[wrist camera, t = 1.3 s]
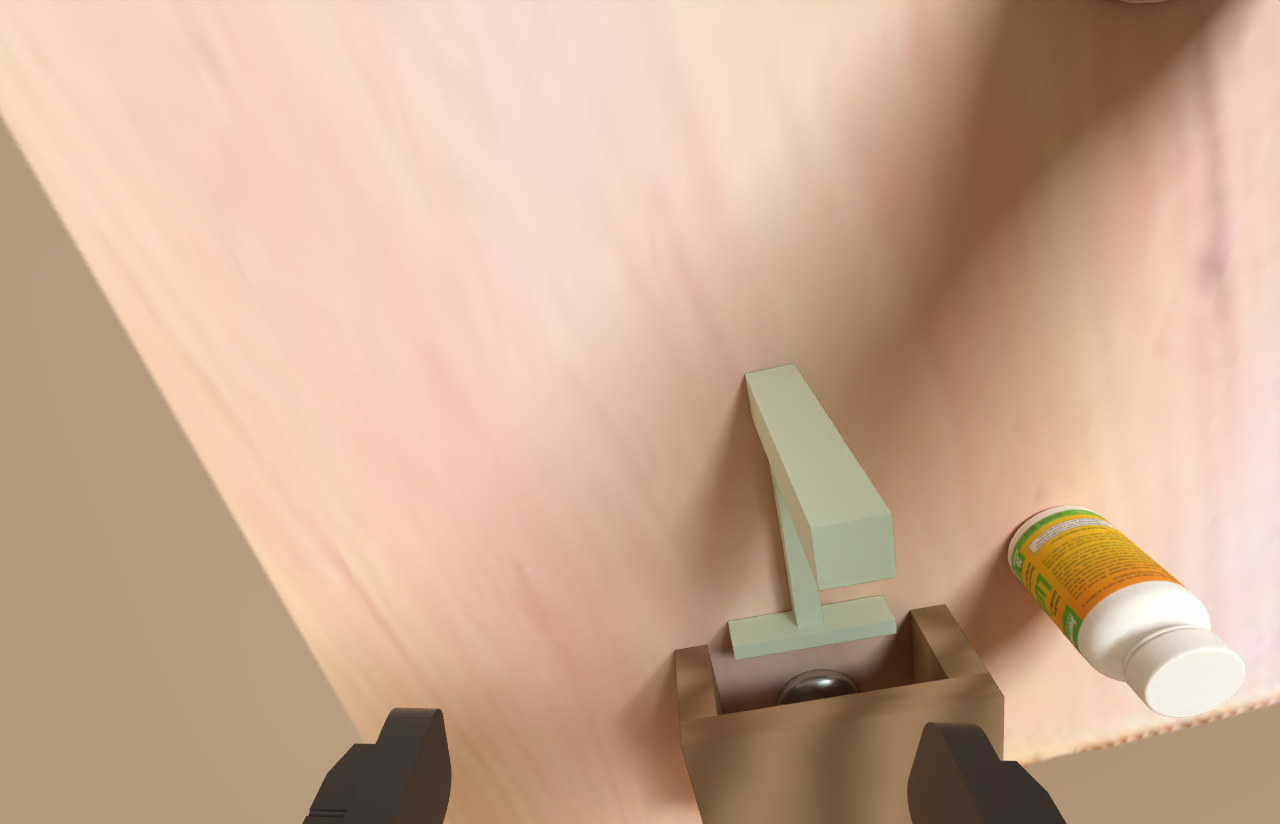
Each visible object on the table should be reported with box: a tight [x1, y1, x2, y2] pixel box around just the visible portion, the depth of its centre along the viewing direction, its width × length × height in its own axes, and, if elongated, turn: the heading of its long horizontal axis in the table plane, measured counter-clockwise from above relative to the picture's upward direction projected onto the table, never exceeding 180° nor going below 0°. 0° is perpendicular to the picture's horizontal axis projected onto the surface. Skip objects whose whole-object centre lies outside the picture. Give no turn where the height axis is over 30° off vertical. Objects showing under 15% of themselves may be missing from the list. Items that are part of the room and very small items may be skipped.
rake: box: [728, 364, 896, 660], centre depth 28 cm, size 9×16×13 cm, turn 13°
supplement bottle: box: [1008, 506, 1245, 718], centre depth 31 cm, size 5×5×10 cm
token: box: [778, 669, 858, 706], centre depth 40 cm, size 5×5×1 cm
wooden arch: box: [675, 605, 1004, 824], centre depth 36 cm, size 16×9×6 cm, turn 103°
